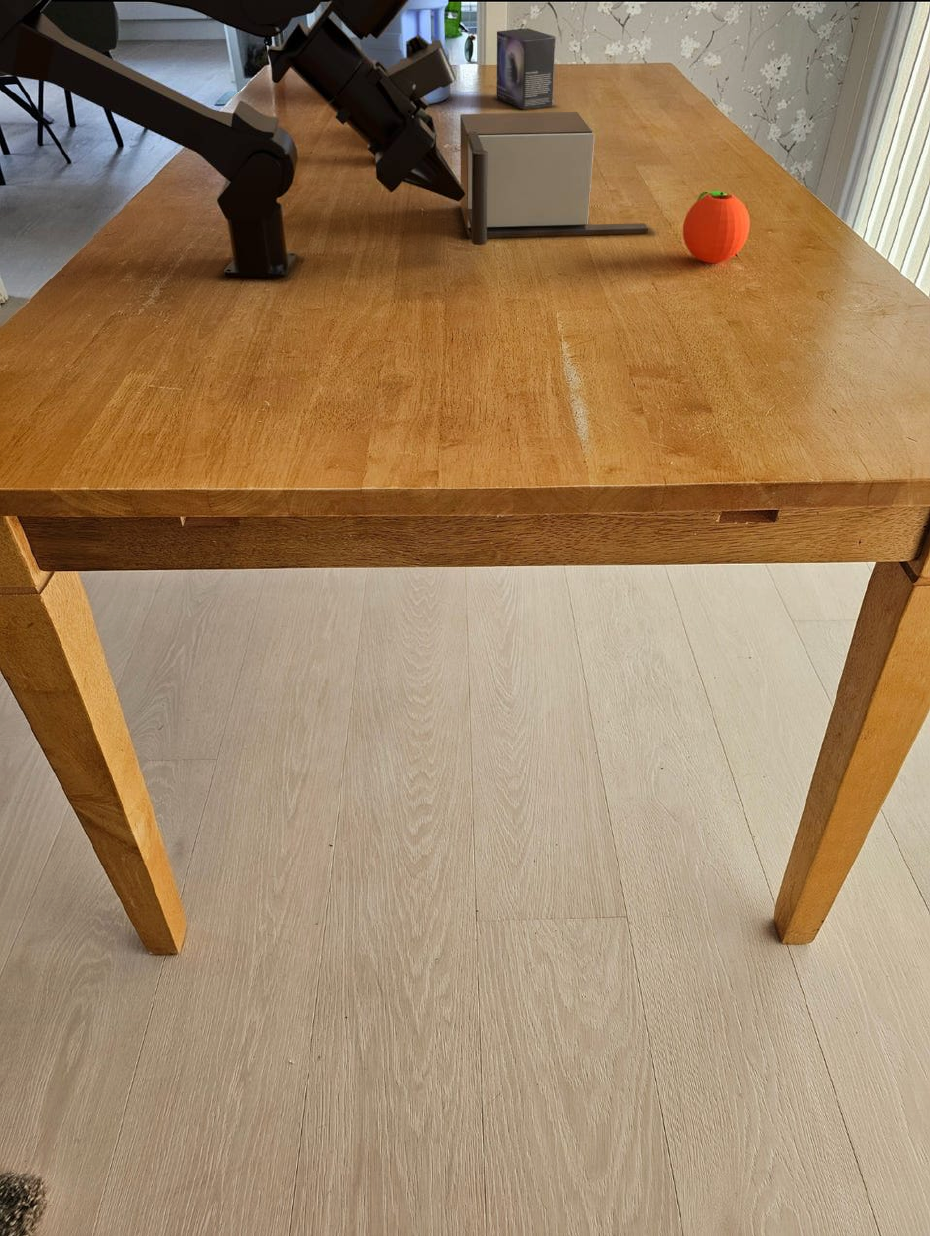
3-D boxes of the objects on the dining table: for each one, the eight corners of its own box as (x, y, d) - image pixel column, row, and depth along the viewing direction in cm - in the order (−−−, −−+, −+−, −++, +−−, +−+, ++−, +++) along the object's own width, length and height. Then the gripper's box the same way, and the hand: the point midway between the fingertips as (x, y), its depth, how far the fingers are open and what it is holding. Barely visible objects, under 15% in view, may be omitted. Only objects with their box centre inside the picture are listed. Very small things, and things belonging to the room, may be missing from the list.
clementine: (661, 252, 105) (670, 184, 100) (715, 244, 107) (726, 177, 102) (700, 275, 99) (711, 204, 94) (756, 267, 101) (769, 197, 96)
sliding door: (472, 256, 101) (472, 154, 95) (464, 226, 109) (464, 130, 103) (603, 252, 102) (612, 151, 96) (586, 223, 110) (594, 127, 103)
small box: (493, 98, 168) (494, 30, 161) (525, 95, 170) (528, 27, 163) (520, 110, 160) (523, 38, 154) (554, 106, 163) (557, 36, 156)
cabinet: (468, 238, 108) (468, 139, 102) (460, 207, 118) (460, 114, 111) (647, 233, 110) (659, 134, 103) (625, 203, 119) (635, 110, 112)
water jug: (349, 104, 164) (334, -97, 146) (381, 87, 176) (371, -101, 158) (434, 109, 161) (429, -96, 143) (461, 91, 172) (460, -100, 155)
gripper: (405, 23, 80) (530, 159, 87) (400, -5, 94) (507, 115, 102) (322, 127, 84) (447, 248, 92) (329, 86, 99) (437, 194, 106)
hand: (462, 197), depth 98 cm, fingers closed
